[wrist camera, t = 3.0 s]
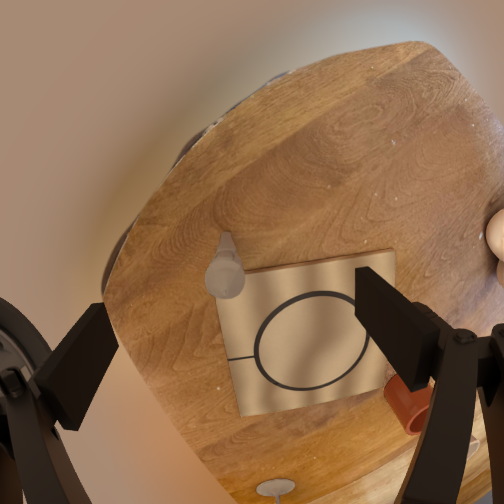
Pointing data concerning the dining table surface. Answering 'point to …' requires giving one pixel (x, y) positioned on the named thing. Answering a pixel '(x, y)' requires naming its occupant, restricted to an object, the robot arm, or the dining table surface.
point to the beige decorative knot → (497, 241)
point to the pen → (225, 270)
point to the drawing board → (302, 334)
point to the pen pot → (408, 404)
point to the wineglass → (275, 488)
